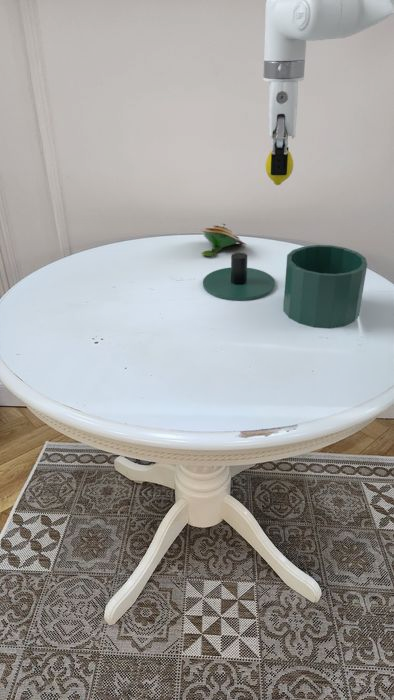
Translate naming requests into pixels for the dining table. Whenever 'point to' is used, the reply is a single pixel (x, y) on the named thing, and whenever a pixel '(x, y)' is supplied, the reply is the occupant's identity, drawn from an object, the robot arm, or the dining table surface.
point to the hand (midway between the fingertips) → (279, 170)
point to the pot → (324, 285)
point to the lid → (238, 281)
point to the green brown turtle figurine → (219, 239)
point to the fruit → (279, 178)
